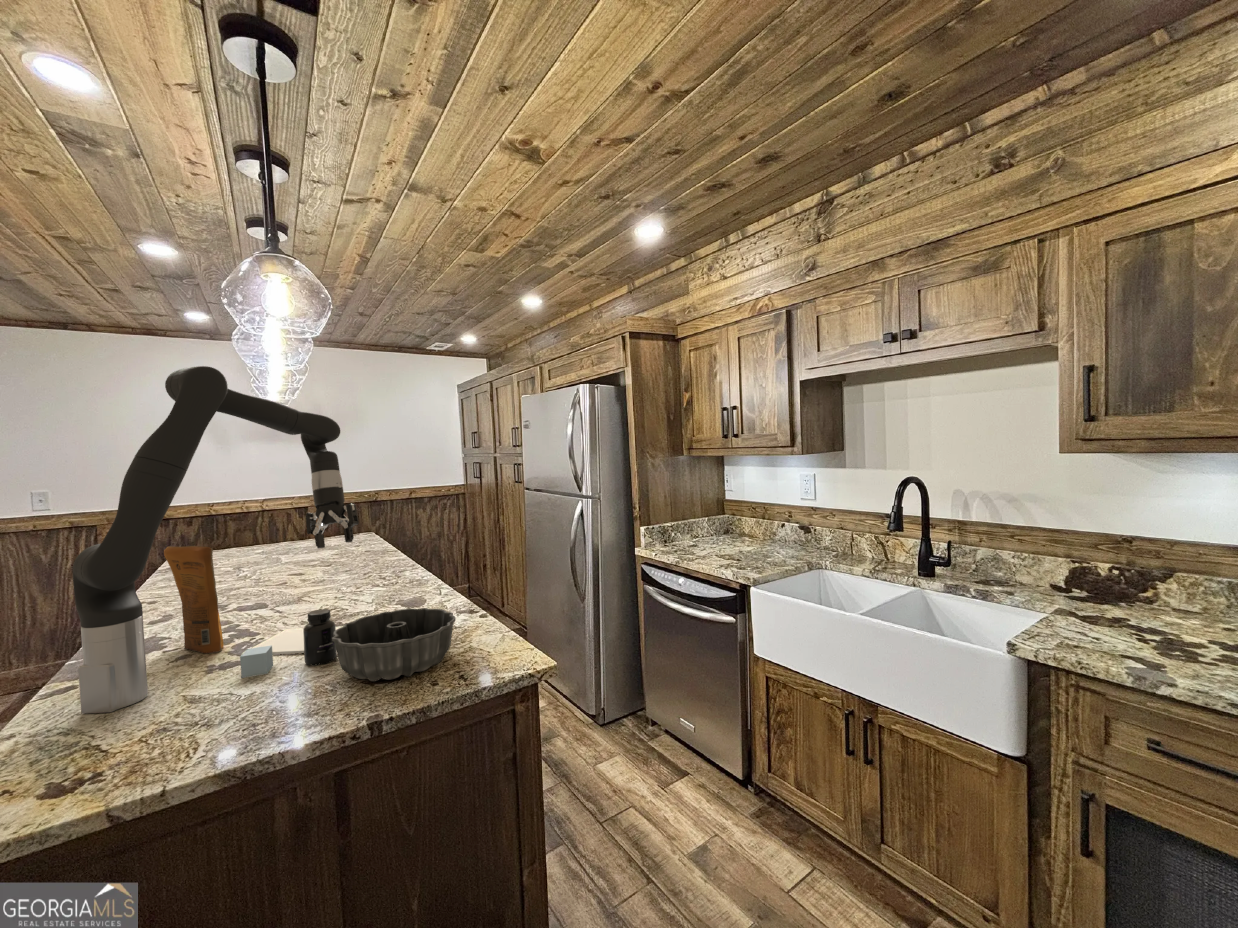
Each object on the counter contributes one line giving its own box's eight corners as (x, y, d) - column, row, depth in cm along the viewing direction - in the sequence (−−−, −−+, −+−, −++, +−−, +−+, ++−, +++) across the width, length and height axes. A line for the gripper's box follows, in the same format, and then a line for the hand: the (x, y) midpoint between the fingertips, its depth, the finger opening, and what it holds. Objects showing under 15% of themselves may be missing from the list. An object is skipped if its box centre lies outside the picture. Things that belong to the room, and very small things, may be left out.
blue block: (267, 674, 119) (265, 652, 119) (241, 678, 117) (240, 656, 117) (273, 665, 124) (272, 645, 123) (248, 669, 122) (247, 648, 122)
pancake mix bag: (204, 658, 130) (197, 548, 129) (167, 648, 139) (160, 545, 138) (234, 648, 136) (227, 543, 135) (197, 639, 145) (190, 540, 144)
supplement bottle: (326, 665, 122) (323, 615, 122) (298, 666, 122) (295, 616, 122) (342, 654, 129) (340, 606, 128) (316, 655, 129) (313, 607, 129)
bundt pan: (410, 638, 139) (408, 601, 138) (480, 654, 125) (478, 614, 125) (310, 677, 116) (307, 633, 116) (382, 702, 102) (379, 653, 102)
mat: (312, 653, 130) (312, 650, 130) (241, 656, 130) (241, 653, 130) (349, 628, 148) (349, 625, 148) (287, 631, 148) (286, 628, 148)
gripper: (295, 492, 142) (302, 551, 140) (341, 482, 141) (349, 540, 139) (314, 494, 150) (321, 549, 148) (359, 483, 148) (367, 539, 146)
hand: (335, 545), depth 143 cm, fingers open, 8 cm apart
